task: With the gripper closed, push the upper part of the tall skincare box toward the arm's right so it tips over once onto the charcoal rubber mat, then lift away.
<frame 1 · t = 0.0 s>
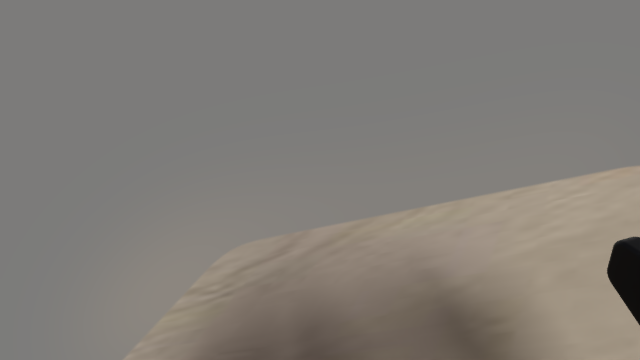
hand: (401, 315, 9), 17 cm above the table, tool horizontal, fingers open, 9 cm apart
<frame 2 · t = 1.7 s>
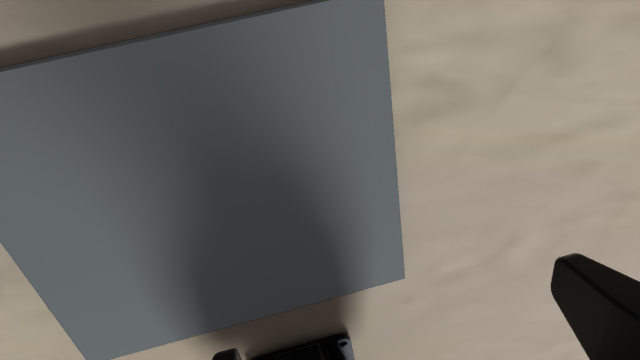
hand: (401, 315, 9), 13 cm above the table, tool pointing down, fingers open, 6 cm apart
mat: (211, 201, 22), on the table
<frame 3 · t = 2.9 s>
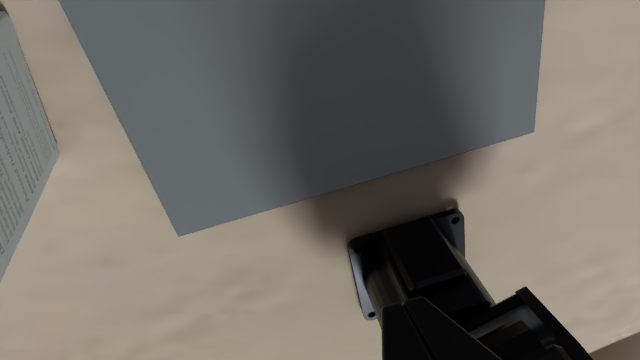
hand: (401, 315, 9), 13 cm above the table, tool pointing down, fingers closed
mat: (327, 14, 18), on the table
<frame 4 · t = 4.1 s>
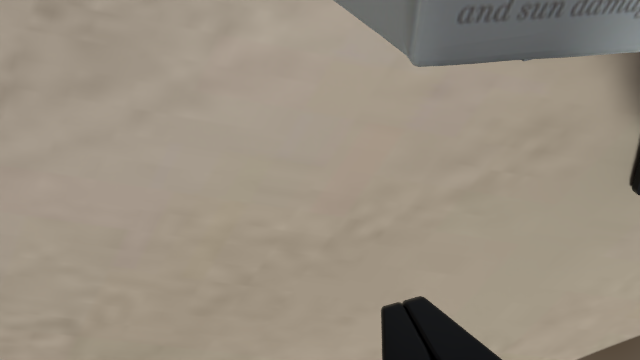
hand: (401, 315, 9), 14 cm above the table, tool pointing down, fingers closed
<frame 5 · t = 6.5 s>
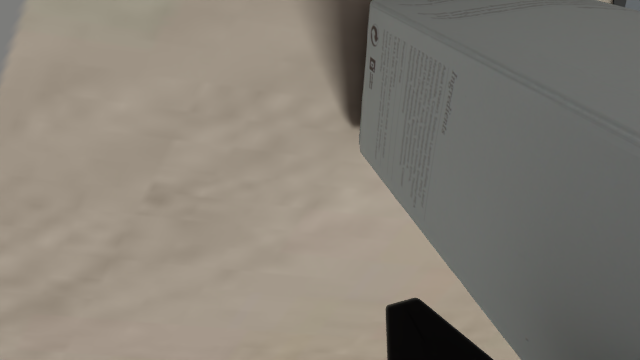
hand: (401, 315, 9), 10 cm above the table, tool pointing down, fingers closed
skincare box: (462, 65, 18), on the table, touching gripper
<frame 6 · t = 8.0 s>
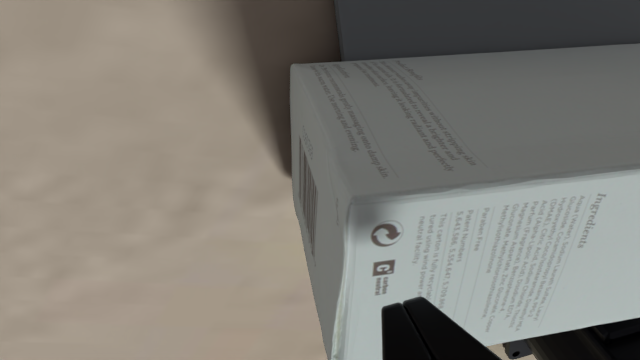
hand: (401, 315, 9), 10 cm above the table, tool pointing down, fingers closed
skincare box: (297, 191, 14), point 4 cm above the table, touching mat
mat: (565, 69, 19), on the table
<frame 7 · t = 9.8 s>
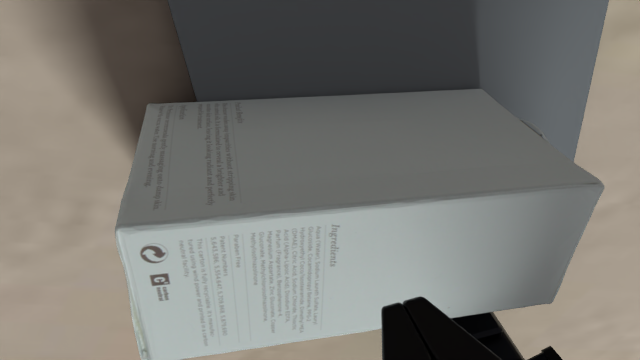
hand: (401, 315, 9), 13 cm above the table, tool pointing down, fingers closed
skincare box: (136, 213, 17), point 4 cm above the table, touching mat
mat: (406, 108, 22), on the table
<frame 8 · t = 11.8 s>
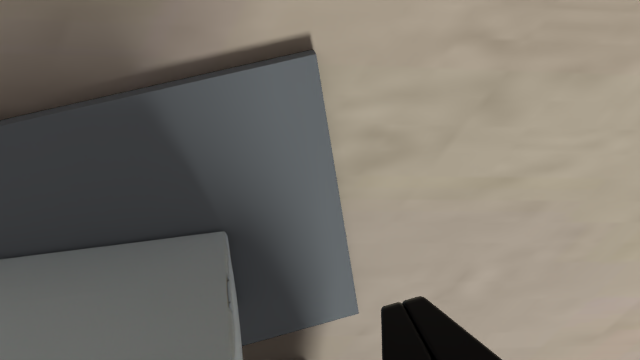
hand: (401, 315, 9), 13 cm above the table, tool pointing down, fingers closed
mat: (162, 247, 23), on the table
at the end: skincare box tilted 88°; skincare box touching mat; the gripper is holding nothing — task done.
